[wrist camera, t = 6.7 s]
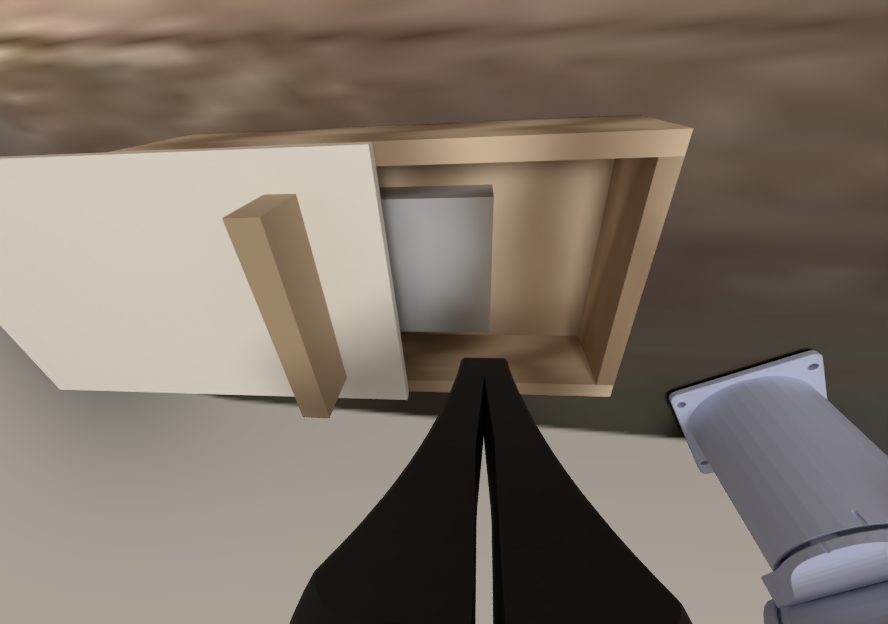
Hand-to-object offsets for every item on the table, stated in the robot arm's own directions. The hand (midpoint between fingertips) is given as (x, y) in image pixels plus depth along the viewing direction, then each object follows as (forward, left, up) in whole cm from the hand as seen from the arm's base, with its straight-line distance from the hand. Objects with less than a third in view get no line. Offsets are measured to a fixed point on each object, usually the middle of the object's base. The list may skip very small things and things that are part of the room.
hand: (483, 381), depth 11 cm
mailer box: (+2, +3, -9) cm, 10 cm away
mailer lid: (+7, +12, -5) cm, 15 cm away
